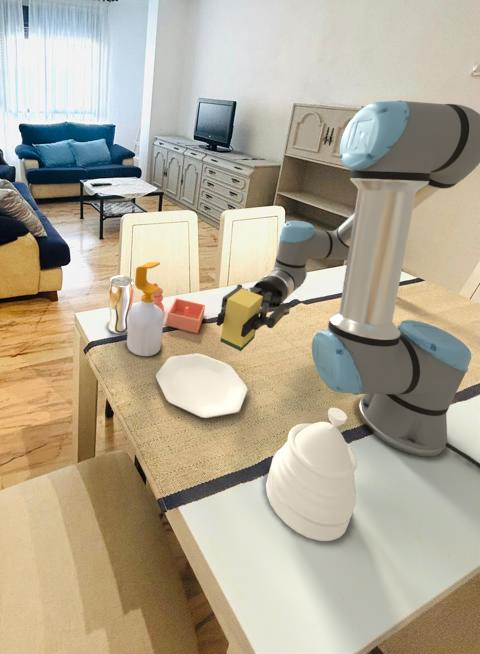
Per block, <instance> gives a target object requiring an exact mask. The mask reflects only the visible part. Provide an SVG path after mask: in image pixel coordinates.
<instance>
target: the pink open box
mask: <svg viewBox="0 0 480 654" xmlns="http://www.w3.org/2000/svg"><path fill="white" fill-rule="evenodd" d="M152 284H153V285H155V286H157V287H159V288H160V289H159V291H157V292H155V293H153V294H151V295H152V296H154V304H155V305H156V306H158V307H159V308H160V309H161V310H162V312H163V313H164V311H165V305H164V304H163V300H164V297H163V292H164V291H163V288H162V287H160V286H159V284H158V283H152ZM205 309H206V304H203V303H199V302H194V301H191V300H190V301H189V300H185V299H182V298H176V297H175V299H174V301H173V303H172V305H171V306H170V308H169V311H168V312H167V319H166V326H168V327H170V328H174V329H179V330H183V331H187V332H190V333H195V334H199V332H200V331H199V330H200V328H201V325H202V322H203V319H204V317H205V315H204V314H205Z"/></svg>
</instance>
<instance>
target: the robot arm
mask: <svg viewBox="0 0 480 654" xmlns="http://www.w3.org/2000/svg"><path fill="white" fill-rule="evenodd" d="M339 157H340V158H341V160H340V161H341V163H342V165H343V166H344V167H345V168H347V169H349V170H350V178H349V181H350V182H351V183H352V184H353V185H354V186H355V187H356V188H357V195H356V201H355V209H354V213H352V214H351V215H350V216H349V217H348V218H347V219H346V220H345V221H344V222H343V223H342V224H341V225H339V226H338V227H337V228H336V229H335V230H316V229H315V226H314V225H313V224H312V223H310V222H307V221H304V220H303V221H300V220H295V219H294V220H289V221H286V222H285V223H284V224H283V225H282V226H283V227H282V230H281V233H280V236H279V241H278V248H277V254H276V257H275V259H274V260H275V261H274V266H273V269H272V270H271V271H270V272H269V273H267V274H266V275H265V276H263V277H262V278H261V279H260V280H258V281H257V282H256V283H255V284H254V285H253V286H252V287H249V288H245V287H243V285H242V284H241V283H240V284H239V283H238V284H237V285H236V288H234V289H232V290H231V291H230V292H228V293H227V294H225V295H224V296H223V297H222V300H221V306H220V308H221V309H220V312H219V313H217V319H216V326H218V327H221V326H223V323H224V317H225V311H226V305H227V300H228V298H230V297H231V296H232V295H234V294H235V293H236V292H238V291H239V290H240V289H245V290H247V291H250V292H253V293H255V294H258V295H261V296H263V299H262V303H261V308H260V313H259V314H255V315H254V316H252V317H251V318H250V319H249V320H248V321H247V322H246V323H245V324H243V327H242V332H241V336H242V337H245V336H246V335H247V334H248V333H249V332H250V331H251V330H252V329H254V330H256V331H258V330H259V329H260V328H261V327H263V326H266V327H267V328H269V329H273V328H274V327H275V326H276V325H277V324H278V323H279V322H280V320H282V318H283V317H284V316H287V315H289V314H290V311H291V308H292V303H290V302H285V301H286V300H287V299H288V298H289V297H290V296H291V295H292V294H293V293H294V292H295V291H296V290H297V289H299V288H300V287H301V286H302V285H303V284H304V282H305V281H306V279H307V275H308V272H307V269H306V266H307V262H308V259H310V260H315V259H317V260H341V261H346V265H345V266H346V267H345V273H344V280H343V285H342V293H341V298H340V299H341V300H340V305H339V311H337V312H335V313H334V314H332V315H330V316H329V319H328V323H327V324H328V325H327V329H321V330H319V331H317V332H316V333H315V334H314V335H313V338H312V341H311V356H312V360H313V364H314V367H315V369H316V372H317V373H318V375H319V377H320V379H321V380H322V381H323V383H324V384H325V385H326V386H327V387H328V388H329V389H331V390H332V391H334V392H336V393H341V394H351V395H353V396H359V395H363V396H362V397H361V398H360V401H359V403H358V407H357V412H358V417H359V419H360V420H361V422H362V423H363V424H364V426H365V427H366V428H367V430H369V431H370V432H371V433H372V434H373V435H374V436H375V437H376V438H378V439H379V440H381V441H382V442H383V443H386V444H387V445H388V446H390V447H392V448H394V449H396V450H399V451H401V452H403V453H406V454H409V455H413V456H417V457H425V458H426V457H427V458H428V457H435V456H438V455H440V454H441V453H442V452H443V451H444V449H445V447H446V448H448V449H449V450H451V451H452V452H454V453H456V454H457V455H458V456H460V457H462V458H463V459H465V460H466V461H468V462H470V463H471V464H473V465H474V466H475V467H476V468H479V469H480V462H479V461H477V460H476V459H474V458H473V457H471V456H470V455H468V454H467V453H465V452H464V451H461V449H459V448H457V447H455V446H454V445H452V444H451V443H449V442H448V422H447V421H448V420H447V413H448V411H449V409H450V406H451V405H452V402H453V400H454V398H455V396H456V394H457V392H458V390H459V388H460V386H461V384H462V382H463V380H464V377H465V376H466V373H468V372H469V366H470V363H471V360H472V352H471V351H470V348H469V347H468V346H467V345H466V344H465V343H464V342H463V341H462V340H461V339H459V338H458V337H456V336H455V335H453V334H452V333H449V332H448V331H446V330H443V329H442V328H439V327H437V326H435V325H432V324H430V323H426V322H423V321H418V320H413V319H406V320H402V321H401V322H400V324H399V325H397V326H396V325H395V324H394V322H393V321H394V315H395V309H396V303H397V298H398V293H399V288H400V281H401V276H402V270H403V266H404V260H405V254H406V248H407V244H408V238H409V232H410V227H411V220H412V215H413V211H414V210H415V209H416V208H418V206H420V205H421V204H423V203H424V202H425V201H426V200H428V199H430V197H432V196H433V195H435V194H436V193H437V192H438V191H441V190H448V189H449V190H450V189H451V188H453V187H454V186H456V185H457V184H458V183H460V182H461V181H463V180H464V179H465V178H467V177H468V176H469V175H470V174H471V173H472V172H473V171H475V170H476V169H477V167H478V166H479V165H480V113H479V112H477V110H475V109H474V108H472V107H469V106H466V105H462V104H457V103H434V102H420V101H407V100H388V101H387V100H386V101H385V100H383V101H374V102H372V103H369V104H367V105H365V106H364V107H362V108H361V109H360V110H358V112H356V113H355V114H354V116H353V118H351V120H350V121H349V122H348V124H347V125H346V127H345V129H344V131H343V134H342V137H341V139H340V145H339ZM269 309H274V311H273V312H272V313H271V314H270V315H269V316H268V313H269Z"/></svg>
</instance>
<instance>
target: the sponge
mask: <svg viewBox="0 0 480 654" xmlns="http://www.w3.org/2000/svg"><path fill="white" fill-rule="evenodd" d="M245 289H246V288H244V289H240V290H239V291H238V292H236V293H235V294H234V295H232V296H231V297H230V298H228V300H227V305H226V311H225V317H224V323H223V324H222V329H221V335H220V342H221V343H222V344H224V345H227V346H229V347H231V348H233V349H235V350H237V351H239V352H242V351H243V350H244V349H245V348H246V347H247V346H248V345H249V344H250V343H251V342H252V341H253V340H254V339H255V335H256V332H257V330H254V329H252V330H251V331H250V332H249V333H248V334H247V335H246V336H245V337H242V336H241V332H242V327H243V324H245V323H246V322H247V321H248V320H249V319H250V318H251V317H252V316H254V315H255V314H259V315H260V312H261V309H262V308H261V303H262V299H263V296H261V295H258V294H255V293H253V292H250V291H247V290H245Z"/></svg>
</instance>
